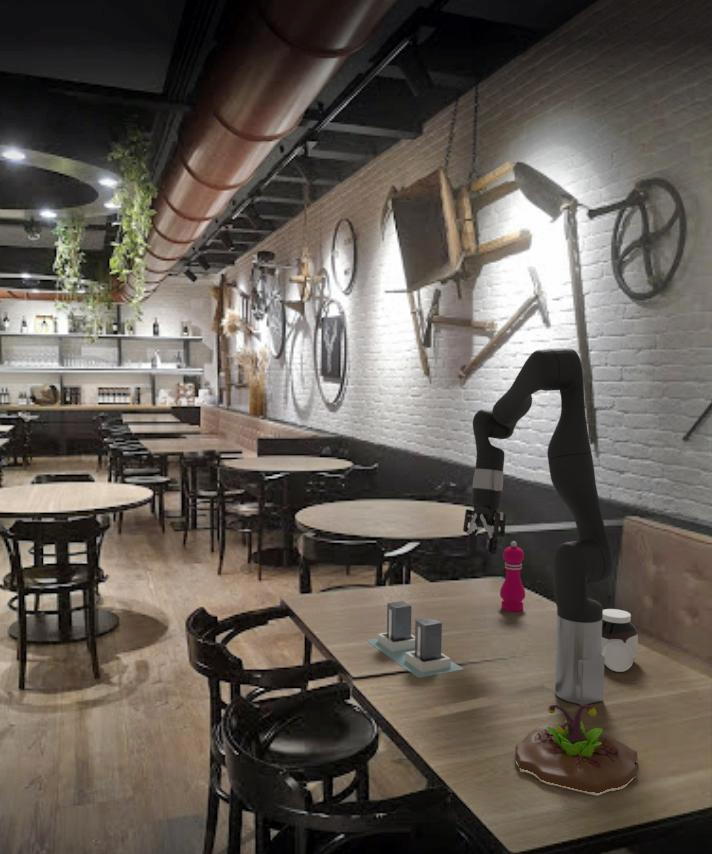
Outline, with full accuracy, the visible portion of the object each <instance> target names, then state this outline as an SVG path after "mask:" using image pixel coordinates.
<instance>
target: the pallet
mask: <svg viewBox="0 0 712 854" xmlns="http://www.w3.org/2000/svg"><path fill="white" fill-rule="evenodd" d="M365 642H367V643H368V644H370V645H372V647H374V648H376V649H377V650H379V651H380V652H381V653H382V654H384V655H385V656H387V657H389V658H390V659H391V660H393V661H394V662H396V663H397V664H398V665H400V666H401V667H403V668H404V669H405V670H406V671H408V672H410V673H411V674H412V675H413V676H415V677H416V678H418V679H420V678H425V677H430V676H436V675H441V674H442V675H443V674H447V673H451V672H452V673H453V672H458V671H461V670H462V671H463V670H464V668H463V667H462V666H460V665H459V664H457V663H455V662H453V661H452V658H450V657H449V656H447V655H446V654H444V653H442V652H441V659H438V660H432V661H426V662H423V661H421V660H420V659H418V658H417V657H415V634H414V635H413V634H412V633H411V639H410V640H404V641H397V642H393V641H391V640H390V639H388V638H387V631H386V632H382V633H381V632H380V633H377V638H372V639H371V638H370V639H366V640H365Z"/></svg>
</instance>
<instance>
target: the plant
mask: <svg viewBox="0 0 712 854" xmlns="http://www.w3.org/2000/svg"><path fill="white" fill-rule="evenodd" d="M556 709H557V710H560V712H562V714H563V715H564V718H565V721H564V722H563V723H562V724H561V723H558V722H556V725H555V724H542V725H539V726H537V727H535V728H534V729H533V730H532V731H531V732H530V733H528V734H527V735H526V736H525V737H524V738H523V740H522V741H521V742H519V743H518V744H516V745H515V752H514V753H515V754H514V755H515V758H514V761H515V760H516V761H517V763H518V765H519V768H521V769H524V770H528V771H530V772H533V773H534V774H536V775H537V776H538V777H539V778H540V779H541V780H544V781H546V782H550V783H554V784H558V785H561V786H566V787H570V788H574V789H578V790H582V791H587V792H595V793H600V792H603V791H605V790H607V789H611V788H618V787H621V786H623V785H625V784H627V783H628V782H629V781H630V780H631V779H632V778H634V777H635V776H636V777H637V769H638V767H637V764H636V765H635V762H636V761H637V762H638V752H637V751H636V750H635V749H633V748H631V747H629V746H628V745H626V744H624V743H622V742H620V741H618V740H617V739H615V738H614V737H611V736H608V735H605V734H604V735H603V734H602V733H603V728H602V727H594V728H592V729H590V730H588V729H586V728H585V725H584V723H583V722H582V720H581V718H582V717H581V716H582V713H583V711H584V709H585V710H586V711H587V713H588V715H589V716H590V717H596V715H597V713H598V712H597V710H596V708H595V707H593V706H591V705H589V704H586V705H585V704H584V705H579V708H578V709H577V711H576V713H575V715H574V720H573V718H572V717H571V714H569V712H568V711H567V710H566V708H564V707H563V706H561V705H559V704H551V705H549V706H548V707H547V710H548V713H549V714H554V713H555V712H556ZM519 768H518V769H519Z"/></svg>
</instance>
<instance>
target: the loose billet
mask: <svg viewBox="0 0 712 854" xmlns="http://www.w3.org/2000/svg"><path fill="white" fill-rule="evenodd" d="M386 604H387V605H386V632H387V638H388V639H390V640H391V641H393V642H397V641H404V640H410V639H411V634H412V605H410V604H409V603H407V602H405V601H404V600H401V601H393V602H387V603H386Z"/></svg>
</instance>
